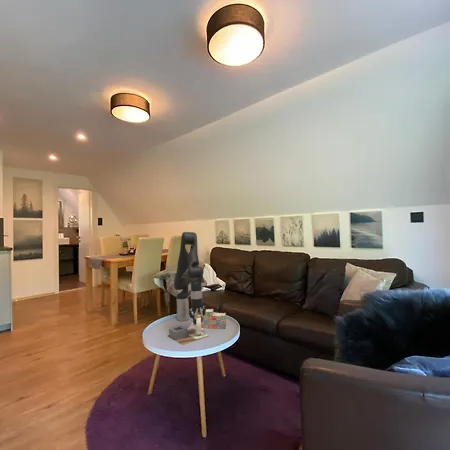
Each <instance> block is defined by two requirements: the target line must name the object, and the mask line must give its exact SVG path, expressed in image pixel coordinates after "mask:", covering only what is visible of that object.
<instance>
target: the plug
mask: <svg viewBox="0 0 450 450" xmlns="http://www.w3.org/2000/svg"><path fill="white" fill-rule="evenodd" d="M194 329H195V331H196V334H201V333H203V332H202V329H203V328H201V314H197V315H196V324H194Z"/></svg>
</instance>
